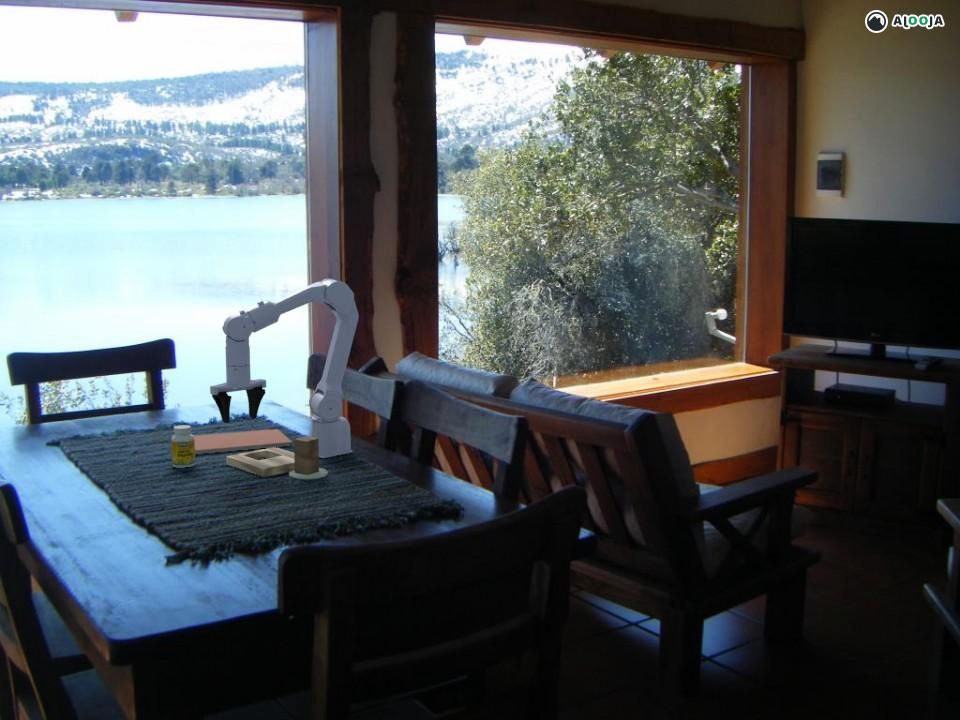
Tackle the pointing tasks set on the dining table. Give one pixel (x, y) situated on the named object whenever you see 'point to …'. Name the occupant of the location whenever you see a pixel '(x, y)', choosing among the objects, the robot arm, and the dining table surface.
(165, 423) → the dining table surface
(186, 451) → the supplement bottle
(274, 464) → the board
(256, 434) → the notebook
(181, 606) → the dining table surface
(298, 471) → the walnut block
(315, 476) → the coaster
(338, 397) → the robot arm
